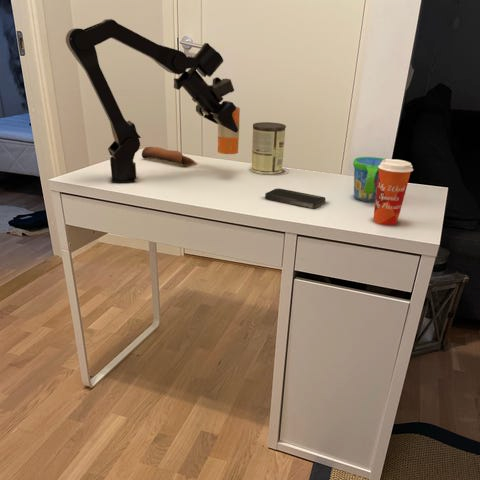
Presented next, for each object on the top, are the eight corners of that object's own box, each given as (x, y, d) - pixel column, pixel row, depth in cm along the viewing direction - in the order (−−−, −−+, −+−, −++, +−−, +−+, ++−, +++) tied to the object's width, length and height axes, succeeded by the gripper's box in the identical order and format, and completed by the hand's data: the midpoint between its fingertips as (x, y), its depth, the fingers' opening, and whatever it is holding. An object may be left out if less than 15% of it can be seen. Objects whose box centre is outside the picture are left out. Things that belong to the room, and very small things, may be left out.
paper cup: (366, 223, 116) (377, 163, 109) (371, 214, 122) (381, 157, 115) (400, 228, 114) (413, 167, 107) (403, 219, 120) (415, 161, 113)
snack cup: (383, 209, 127) (390, 169, 121) (343, 203, 130) (348, 164, 125) (390, 194, 139) (397, 157, 134) (353, 189, 142) (359, 153, 137)
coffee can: (253, 166, 163) (255, 121, 156) (283, 168, 162) (287, 123, 155) (248, 173, 155) (250, 126, 148) (280, 175, 153) (284, 128, 146)
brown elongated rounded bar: (198, 161, 163) (191, 145, 158) (187, 175, 161) (180, 159, 156) (157, 154, 172) (150, 138, 166) (146, 167, 169) (138, 151, 164)
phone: (277, 187, 136) (327, 197, 129) (276, 191, 137) (326, 201, 130) (263, 194, 130) (315, 204, 124) (263, 198, 131) (314, 208, 124)
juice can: (229, 155, 148) (230, 108, 141) (213, 151, 151) (213, 106, 144) (242, 152, 152) (244, 107, 145) (226, 149, 155) (227, 105, 149)
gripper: (230, 70, 131) (264, 113, 141) (205, 65, 145) (237, 105, 155) (203, 102, 132) (238, 143, 142) (180, 94, 146) (214, 132, 156)
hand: (232, 129), depth 149 cm, fingers closed on juice can, 6 cm apart
